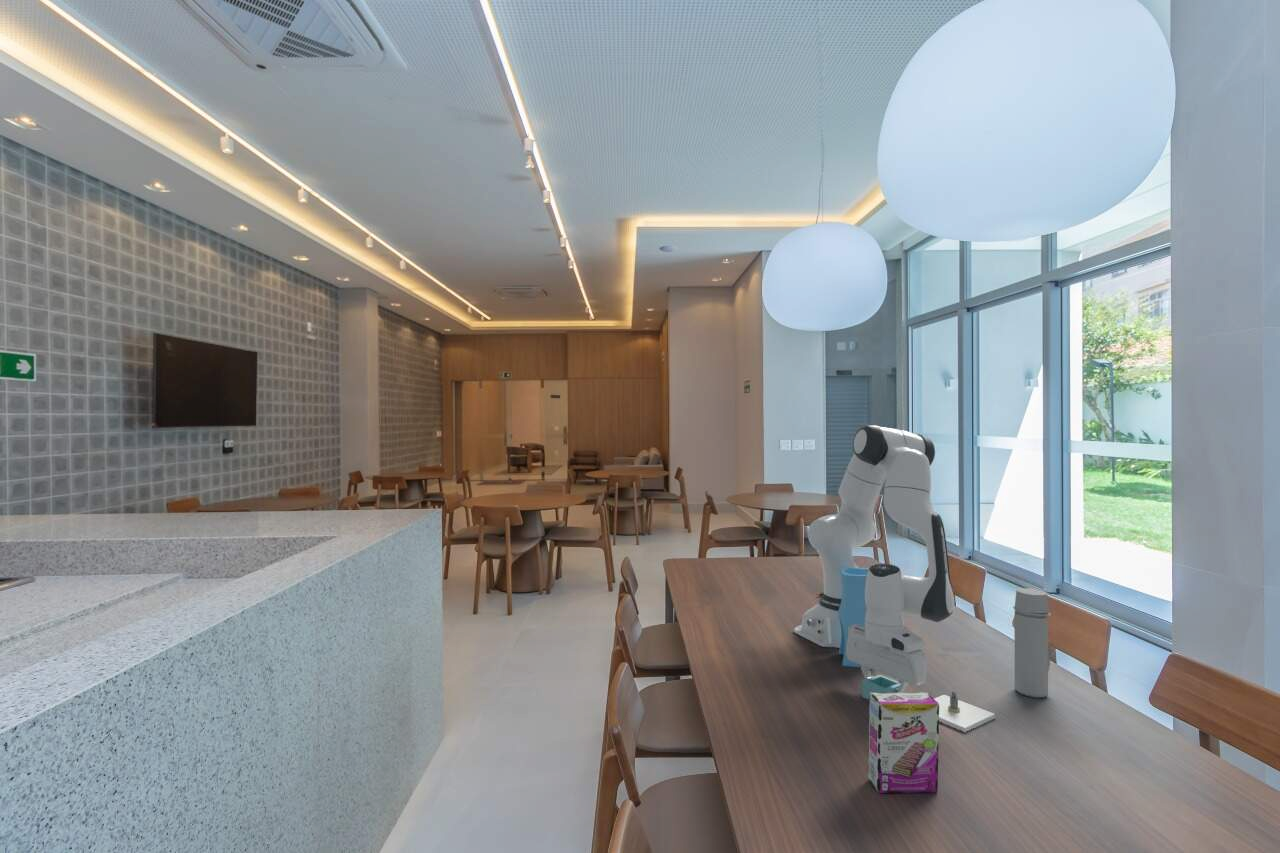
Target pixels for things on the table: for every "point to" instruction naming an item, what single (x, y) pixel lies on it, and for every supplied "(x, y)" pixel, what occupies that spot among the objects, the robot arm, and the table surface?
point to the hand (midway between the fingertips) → (884, 690)
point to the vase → (851, 605)
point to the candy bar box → (903, 742)
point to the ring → (878, 685)
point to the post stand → (961, 713)
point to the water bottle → (1031, 642)
